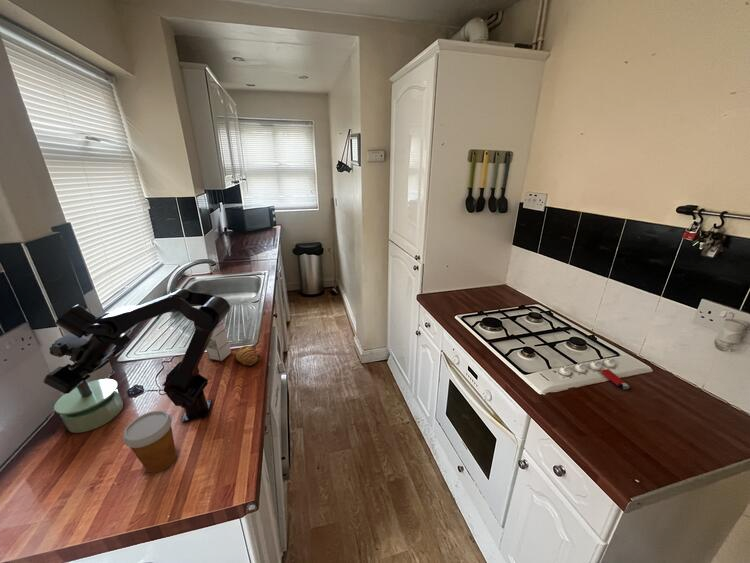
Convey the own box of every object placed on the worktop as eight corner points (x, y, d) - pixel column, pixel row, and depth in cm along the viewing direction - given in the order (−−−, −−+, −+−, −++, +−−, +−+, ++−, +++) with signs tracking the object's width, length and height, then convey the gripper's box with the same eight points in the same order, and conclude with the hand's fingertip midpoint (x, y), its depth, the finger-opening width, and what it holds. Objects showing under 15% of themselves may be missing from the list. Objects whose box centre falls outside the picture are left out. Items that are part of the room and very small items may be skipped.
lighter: (609, 369, 102) (630, 385, 94) (608, 372, 102) (629, 388, 95) (601, 369, 101) (621, 386, 94) (600, 372, 102) (620, 389, 95)
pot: (111, 426, 86) (105, 412, 84) (56, 437, 83) (48, 424, 81) (130, 395, 97) (125, 383, 95) (82, 404, 94) (76, 392, 92)
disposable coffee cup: (175, 437, 82) (162, 403, 77) (189, 457, 76) (176, 421, 72) (132, 463, 75) (115, 427, 71) (145, 487, 69) (127, 450, 65)
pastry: (263, 361, 112) (261, 352, 111) (245, 369, 108) (242, 360, 106) (252, 350, 118) (250, 342, 117) (234, 358, 114) (232, 350, 113)
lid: (104, 409, 83) (93, 383, 80) (43, 421, 80) (28, 395, 77) (126, 377, 95) (117, 354, 92) (73, 387, 92) (61, 363, 89)
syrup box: (231, 352, 118) (224, 319, 112) (220, 361, 112) (212, 327, 107) (219, 350, 119) (211, 317, 114) (208, 359, 114) (198, 325, 108)
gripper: (99, 310, 88) (76, 344, 92) (33, 348, 70) (8, 388, 74) (136, 333, 91) (111, 365, 95) (81, 375, 73) (54, 411, 77)
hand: (75, 380), depth 85 cm, fingers closed on lid, 2 cm apart
